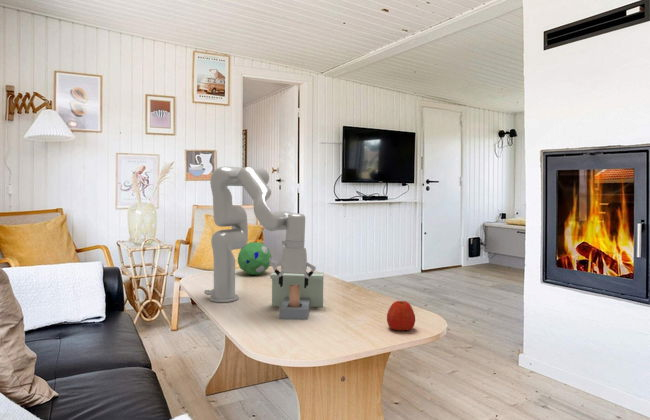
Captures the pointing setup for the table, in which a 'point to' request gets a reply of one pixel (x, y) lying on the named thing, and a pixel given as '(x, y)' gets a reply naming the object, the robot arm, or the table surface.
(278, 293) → the pale green rectangular block
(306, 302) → the socket
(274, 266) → the robot arm
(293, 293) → the peg
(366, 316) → the table surface
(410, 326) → the apple
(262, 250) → the decorative sphere
